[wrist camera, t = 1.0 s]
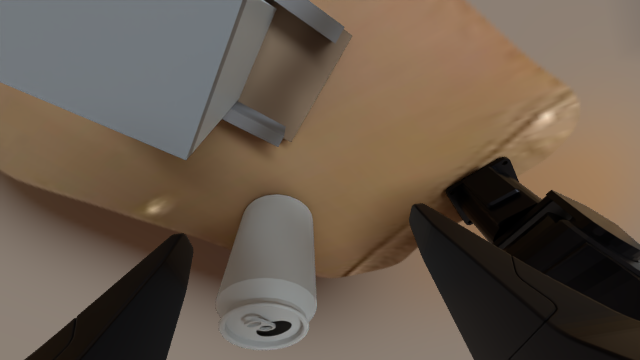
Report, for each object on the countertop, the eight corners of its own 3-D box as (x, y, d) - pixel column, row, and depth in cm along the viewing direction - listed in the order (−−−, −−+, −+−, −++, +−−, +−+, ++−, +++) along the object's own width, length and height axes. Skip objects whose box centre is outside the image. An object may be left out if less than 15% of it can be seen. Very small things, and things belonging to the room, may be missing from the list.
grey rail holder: (349, 34, 18) (361, 37, 14) (291, 135, 22) (289, 159, 18) (97, -151, 13) (8, -225, 9) (82, 25, 17) (17, 26, 13)
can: (272, 249, 30) (256, 365, 19) (229, 209, 26) (182, 328, 16) (325, 223, 28) (337, 337, 18) (286, 177, 24) (274, 287, 14)
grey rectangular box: (276, 8, 15) (245, -8, 7) (238, 98, 18) (186, 160, 10) (176, -61, 13) (-23, -193, 5) (151, 52, 16) (-2, 81, 8)
